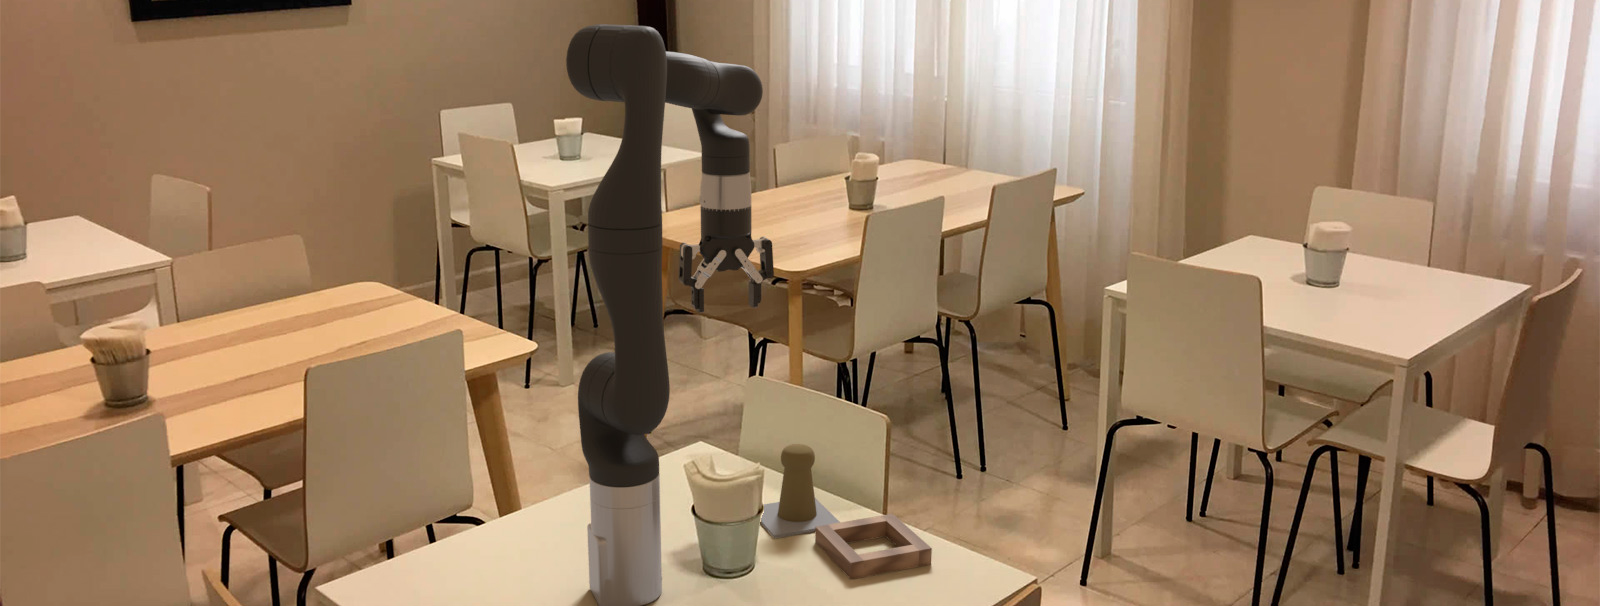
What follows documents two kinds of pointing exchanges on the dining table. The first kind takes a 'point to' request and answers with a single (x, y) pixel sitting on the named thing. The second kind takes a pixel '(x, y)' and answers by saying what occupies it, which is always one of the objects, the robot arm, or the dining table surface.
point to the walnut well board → (877, 562)
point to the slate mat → (788, 528)
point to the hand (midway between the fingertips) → (726, 308)
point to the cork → (797, 484)
